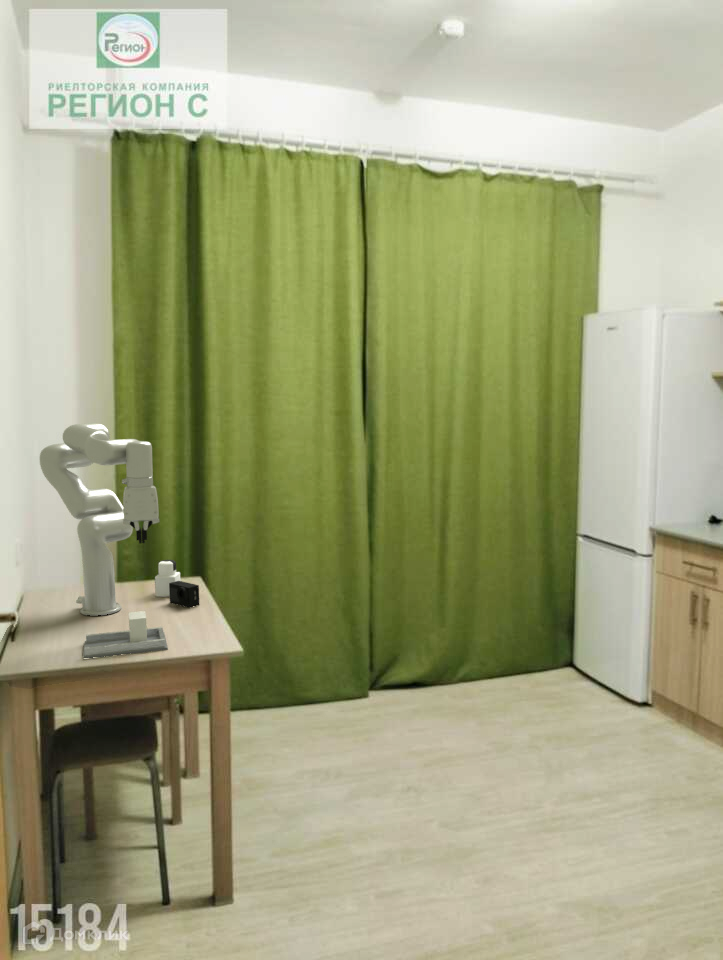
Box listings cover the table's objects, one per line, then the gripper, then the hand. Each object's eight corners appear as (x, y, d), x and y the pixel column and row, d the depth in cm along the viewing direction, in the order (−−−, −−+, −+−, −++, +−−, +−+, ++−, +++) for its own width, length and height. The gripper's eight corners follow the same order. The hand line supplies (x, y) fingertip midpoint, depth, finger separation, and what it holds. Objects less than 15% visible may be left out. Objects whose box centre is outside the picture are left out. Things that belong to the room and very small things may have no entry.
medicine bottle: (161, 591, 270) (159, 558, 269) (181, 591, 270) (179, 558, 268) (155, 596, 263) (153, 563, 262) (175, 596, 263) (174, 563, 261)
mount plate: (83, 659, 202) (83, 657, 202) (84, 643, 216) (84, 640, 216) (167, 649, 209) (167, 647, 209) (164, 634, 222) (164, 632, 222)
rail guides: (85, 656, 203) (84, 648, 203) (86, 641, 215) (86, 634, 215) (165, 646, 210) (165, 639, 210) (162, 633, 221) (162, 626, 221)
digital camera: (166, 603, 255) (165, 583, 254) (179, 600, 259) (178, 580, 258) (186, 609, 248) (185, 588, 247) (199, 605, 252) (198, 584, 252)
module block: (130, 647, 210) (129, 619, 209) (129, 639, 216) (128, 612, 215) (147, 645, 211) (146, 617, 210) (146, 637, 218) (145, 611, 217)
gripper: (113, 485, 221) (115, 546, 223) (166, 483, 225) (167, 543, 227) (113, 481, 228) (116, 541, 230) (165, 480, 232) (166, 538, 235)
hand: (141, 542), depth 229 cm, fingers closed
